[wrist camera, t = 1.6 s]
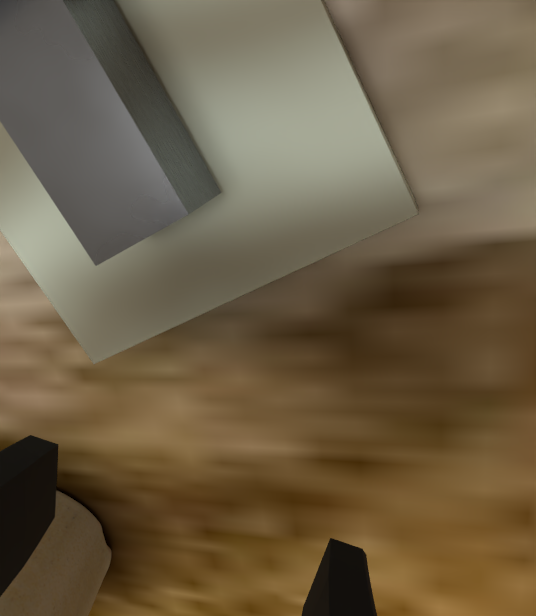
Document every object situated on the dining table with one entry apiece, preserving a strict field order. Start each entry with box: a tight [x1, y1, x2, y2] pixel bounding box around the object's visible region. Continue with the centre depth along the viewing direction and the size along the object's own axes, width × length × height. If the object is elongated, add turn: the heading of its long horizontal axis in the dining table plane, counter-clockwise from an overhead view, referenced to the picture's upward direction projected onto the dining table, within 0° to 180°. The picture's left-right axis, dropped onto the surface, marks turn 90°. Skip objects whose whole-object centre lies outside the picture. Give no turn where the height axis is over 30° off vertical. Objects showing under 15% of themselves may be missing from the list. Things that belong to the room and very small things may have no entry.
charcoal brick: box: [0, 0, 221, 266], centre depth 13 cm, size 9×3×3 cm, turn 30°
